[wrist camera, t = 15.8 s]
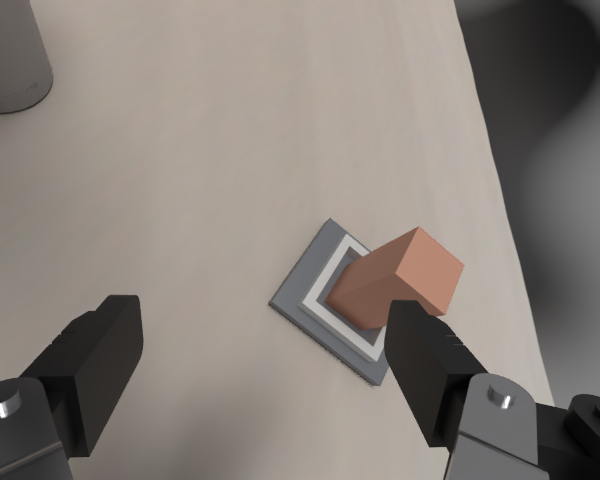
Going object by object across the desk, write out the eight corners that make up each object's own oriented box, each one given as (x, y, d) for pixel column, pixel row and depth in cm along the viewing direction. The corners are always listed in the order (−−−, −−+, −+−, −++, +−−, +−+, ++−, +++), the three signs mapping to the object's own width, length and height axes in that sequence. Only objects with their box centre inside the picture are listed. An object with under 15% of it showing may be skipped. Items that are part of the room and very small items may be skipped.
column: (324, 301, 36) (395, 273, 25) (346, 265, 38) (419, 226, 28) (360, 330, 36) (445, 314, 26) (380, 293, 39) (464, 265, 28)
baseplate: (268, 303, 35) (276, 298, 32) (325, 221, 41) (336, 212, 38) (373, 385, 36) (389, 386, 34) (414, 295, 42) (429, 290, 40)
